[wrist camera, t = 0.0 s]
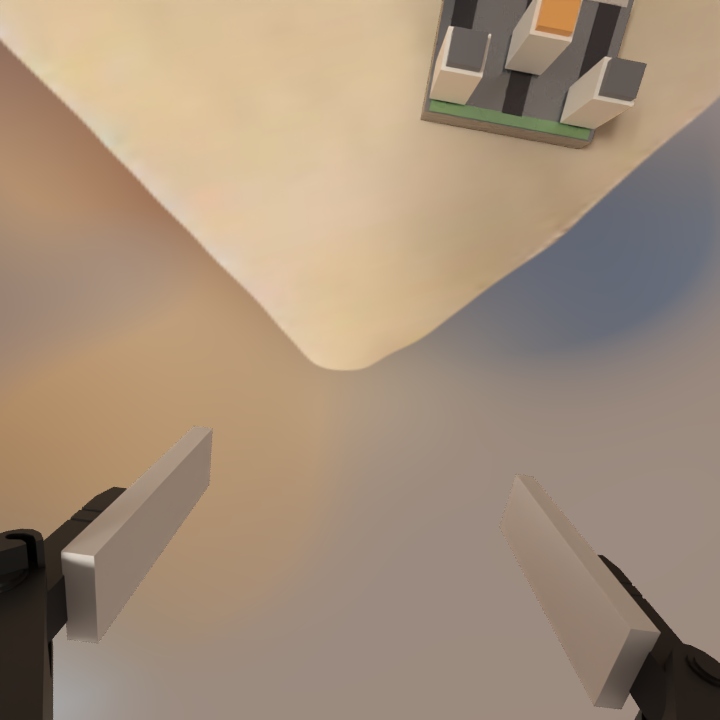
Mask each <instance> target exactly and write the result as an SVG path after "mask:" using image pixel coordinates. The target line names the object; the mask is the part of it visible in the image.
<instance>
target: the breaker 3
mask: <svg viewBox="0 0 720 720" xmlns="http://www.w3.org/2000/svg"><path fill="white" fill-rule="evenodd" d="M645 68H646V64H645V63H640V62H635V61H630V60H625V59H620V58H615V57H613V58H611V57H606V56H605V57H604V58H603V59H602V60H600V61H599V62H598V63H597V64H596V65H595V66H593V67H592V68H591V69H590V70H589V71H588V72H587V73H585V74H584V75H583V76H582V77H581V78H580V79H579V80H577V81H576V82H575V83H574V84H573V85H572V86H570V87H569V91H568V95H567V98H566V102H565V106H564V109H563V113H562V117H561V120H560V123H563V124H569V125H574V126H579V127H585V128H590V129H596V128H597V127H599V126H601V125H602V124H604V123H606V122H608V121H609V120H611V119H613V118H614V117H616V116H618V115H619V114H621V113H623V112H624V111H626V110H628V109H629V108H631V107H633V105H634V102H635V98H636V96H637V93H638V89H639V86H640V83H641V80H642V77H643V74H644V71H645Z"/></svg>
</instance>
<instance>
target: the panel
mask: <svg viewBox="0 0 720 720" xmlns="http://www.w3.org/2000/svg"><path fill="white" fill-rule="evenodd" d="M633 1H634V0H583V1H582V5H581V8H580V12H579V16H578V20H577V23H576V27H575V31H574V35H573V38H572V42H571V43H570V44H569V45H568V46H567V47H566V49H565V50H564V51H563V52H562V53H561V54H560V55H559V56H558V57H557V58H556V59H555V60H554V61H553V63H552V64H551V65H550V66H549V67H548V68H547V69H546V70H545V71H544V72H543V73H542V74H541V75H536V74H531V73H526V72H521V71H516V70H510V69H505V65H506V60H507V56H508V52H509V47H510V43H511V39H512V34H513V30H514V29H515V27H516V25H517V24H518V22H519V21H520V19H521V18H522V16H523V14H524V13H525V11H526V10H527V8H528V7H529V5H530V3H531V2H532V0H442V5H441V10H440V16H439V21H438V27H437V32H436V38H435V43H434V49H433V54H432V60H431V65H430V71H429V76H428V82H427V87H426V93H425V98H424V104H423V109H422V115H421V120H426V121H432V122H437V123H442V124H448V125H453V126H459V127H464V128H469V129H475V130H480V131H486V132H491V133H496V134H502V135H507V136H513V137H518V138H523V139H529V140H534V141H540V142H545V143H550V144H556V145H561V146H567V147H572V148H577V149H580V148H582V147H584V146H585V145H587V144H589V143H591V142H592V139H593V135H594V132H595V129H590V128H585V127H579V126H574V125H569V124H563V123H560V120H561V117H562V113H563V109H564V106H565V102H566V98H567V95H568V91H569V87H570V86H572V85H573V84H574V83H575V82H576V81H577V80H579V79H580V78H581V77H582V76H583V75H584V74H585V73H587V72H588V71H589V70H590V69H591V68H592V67H593V66H595V65H596V64H597V63H598V62H599V61H600V60H602V59H603V58H604V57H605V56H606V57H611V58H613V57H615V58H617V55H618V52H619V48H620V45H621V42H622V38H623V35H624V32H625V28H626V25H627V21H628V18H629V15H630V11H631V8H632V5H633ZM449 26H452V27H454V26H456V27H461V28H467V29H472V30H477V31H482V32H487V33H489V34H491V39H490V43H489V48H488V52H487V57H486V62H485V66H484V71H483V76H482V78H481V80H480V82H479V83H478V85H477V86H476V88H475V90H474V91H473V93H472V94H471V96H470V97H469V99H468V101H467V102H466V104H465V105H462V104H457V103H452V102H446V101H441V100H436V99H430V98H429V97H430V91H431V86H432V81H433V75H434V70H435V64H436V60H437V57H438V55H439V52H440V49H441V46H442V44H443V41H444V38H445V35H446V32H447V30H448V27H449Z"/></svg>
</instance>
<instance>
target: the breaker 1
mask: <svg viewBox="0 0 720 720" xmlns="http://www.w3.org/2000/svg"><path fill="white" fill-rule="evenodd" d="M490 39H491V34H489V33H487V32H482V31H477V30H472V29H467V28H461V27H456V26H454V27H452V26H449V27H448V30H447V32H446V35H445V38H444V41H443V44H442V46H441V49H440V52H439V55H438V57H437V60H436V64H435V70H434V75H433V81H432V86H431V91H430V97H429V98H430V99H436V100H441V101H446V102H452V103H457V104H462V105H465V104H466V102H467V101H468V99H469V97H470V96H471V94H472V93H473V91H474V90H475V88H476V86H477V85H478V83H479V82H480V80H481V78H482V76H483V71H484V66H485V62H486V57H487V52H488V48H489V43H490Z"/></svg>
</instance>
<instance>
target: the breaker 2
mask: <svg viewBox="0 0 720 720" xmlns="http://www.w3.org/2000/svg"><path fill="white" fill-rule="evenodd" d="M582 1H583V0H532V2H531V3H530V5H529V7H528V8H527V10H526V11H525V13H524V14H523V16H522V18H521V19H520V21H519V22H518V24H517V25H516V27H515V29H514V30H513V34H512V39H511V43H510V47H509V52H508V56H507V60H506V65H505V69H510V70H516V71H521V72H526V73H531V74H536V75H541V74H542V73H543V72H544V71H545V70H546V69H547V68H548V67H549V66H550V65H551V64H552V63H553V61H554V60H555V59H556V58H557V57H558V56H559V55H560V54H561V53H562V52H563V51H564V50H565V49H566V47H567V46H568V45H569V44H570V43H571V42H572V38H573V35H574V31H575V27H576V23H577V20H578V16H579V12H580V8H581V5H582Z"/></svg>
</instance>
